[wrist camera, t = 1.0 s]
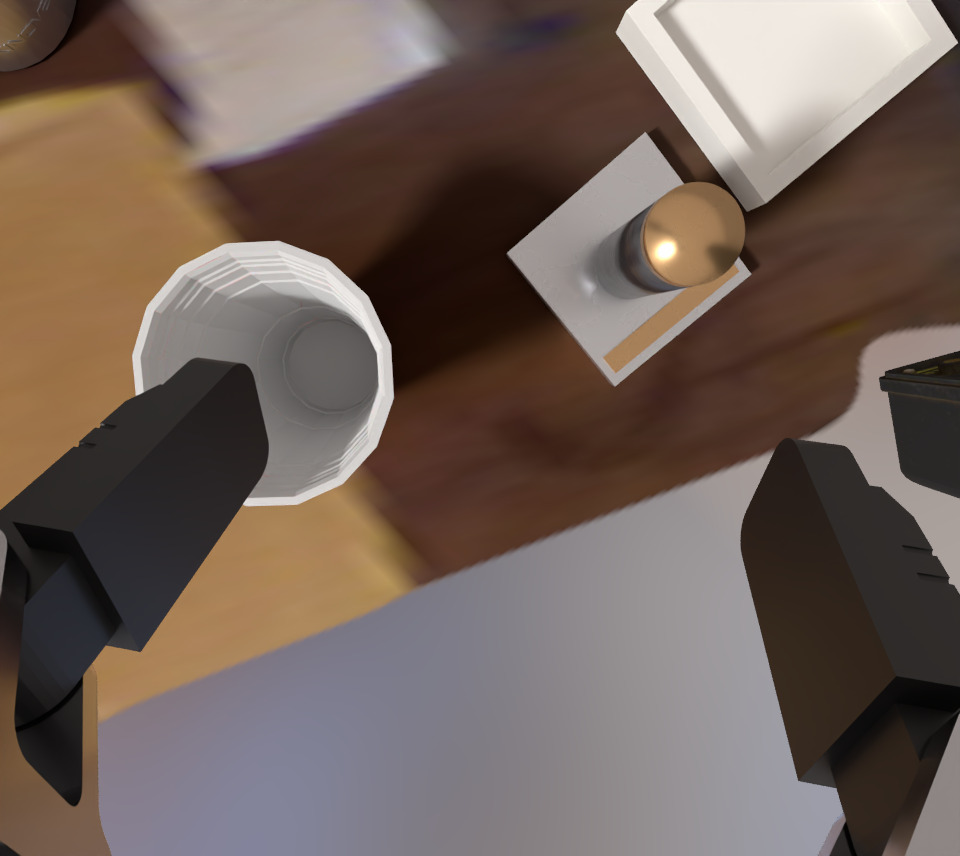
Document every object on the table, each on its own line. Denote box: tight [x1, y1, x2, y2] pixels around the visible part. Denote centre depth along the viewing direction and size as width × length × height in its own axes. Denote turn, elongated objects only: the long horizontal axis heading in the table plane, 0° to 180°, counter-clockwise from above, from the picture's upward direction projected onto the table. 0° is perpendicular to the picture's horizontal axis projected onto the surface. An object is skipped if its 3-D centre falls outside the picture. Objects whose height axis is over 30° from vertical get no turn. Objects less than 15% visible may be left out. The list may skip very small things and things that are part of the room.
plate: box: [506, 132, 751, 386], centre depth 33 cm, size 10×10×1 cm
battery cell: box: [595, 182, 745, 299], centre depth 28 cm, size 4×4×10 cm
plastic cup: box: [132, 241, 394, 506], centre depth 29 cm, size 11×11×12 cm
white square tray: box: [616, 0, 958, 212], centre depth 31 cm, size 12×12×2 cm
